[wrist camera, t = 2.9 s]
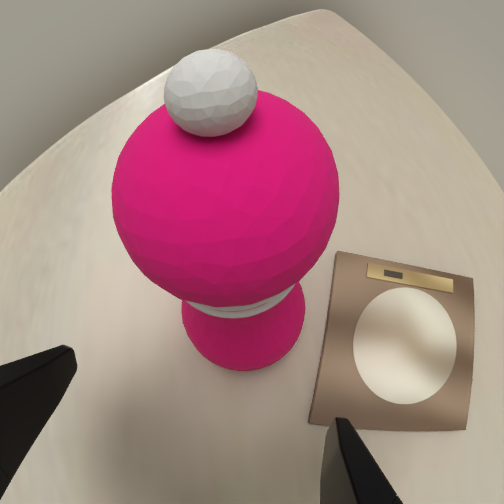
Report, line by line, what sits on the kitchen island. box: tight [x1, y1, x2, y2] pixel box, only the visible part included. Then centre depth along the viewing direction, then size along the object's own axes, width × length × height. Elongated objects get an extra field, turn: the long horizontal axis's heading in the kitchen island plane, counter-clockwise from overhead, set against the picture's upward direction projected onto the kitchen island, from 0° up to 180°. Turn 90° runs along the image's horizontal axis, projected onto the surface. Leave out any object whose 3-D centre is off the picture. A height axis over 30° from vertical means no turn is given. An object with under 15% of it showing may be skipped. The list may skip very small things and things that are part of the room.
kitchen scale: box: [308, 251, 474, 431], centre depth 21 cm, size 13×13×1 cm
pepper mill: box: [112, 49, 339, 371], centre depth 14 cm, size 7×7×20 cm
